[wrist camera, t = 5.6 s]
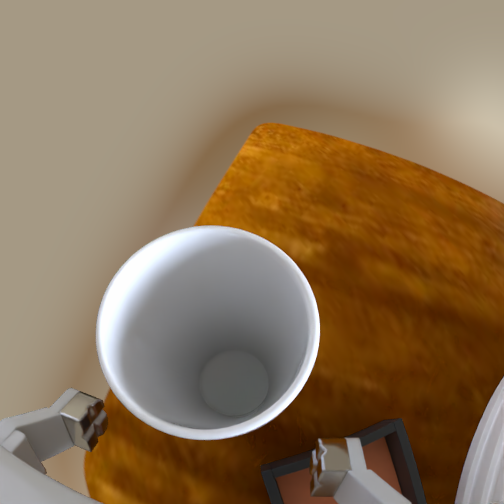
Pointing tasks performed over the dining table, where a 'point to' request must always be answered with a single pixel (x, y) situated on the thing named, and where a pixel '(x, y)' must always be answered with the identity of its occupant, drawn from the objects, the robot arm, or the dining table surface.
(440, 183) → the dining table surface
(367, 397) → the dining table surface
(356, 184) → the dining table surface
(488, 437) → the plate stack
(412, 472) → the socket pad
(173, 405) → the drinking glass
